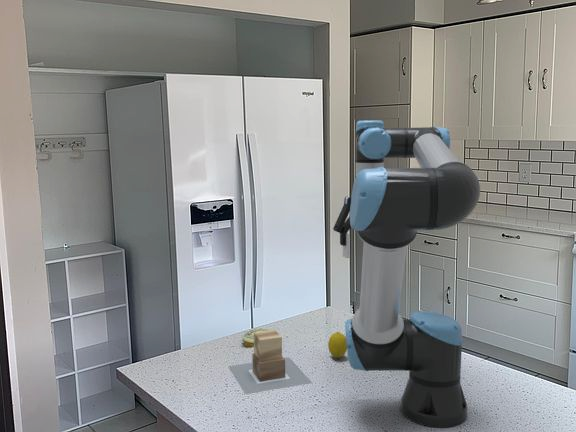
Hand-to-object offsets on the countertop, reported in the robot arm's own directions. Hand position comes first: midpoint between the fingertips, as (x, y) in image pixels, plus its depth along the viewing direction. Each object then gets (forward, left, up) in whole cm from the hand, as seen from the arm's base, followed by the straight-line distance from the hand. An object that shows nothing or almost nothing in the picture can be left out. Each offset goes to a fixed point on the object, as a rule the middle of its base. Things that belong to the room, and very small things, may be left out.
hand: (368, 255), depth 158 cm
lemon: (+7, +6, -32) cm, 33 cm away
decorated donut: (+26, +24, -32) cm, 48 cm away
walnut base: (+1, +29, -30) cm, 42 cm away
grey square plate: (+1, +29, -32) cm, 43 cm away
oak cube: (+1, +29, -26) cm, 39 cm away
